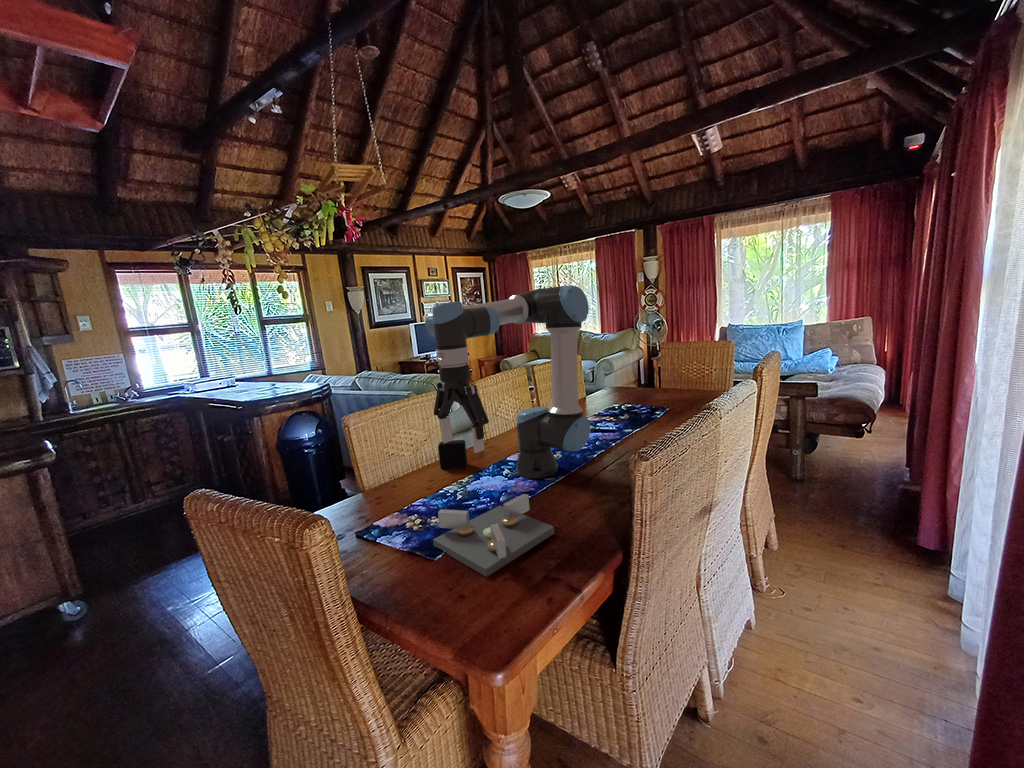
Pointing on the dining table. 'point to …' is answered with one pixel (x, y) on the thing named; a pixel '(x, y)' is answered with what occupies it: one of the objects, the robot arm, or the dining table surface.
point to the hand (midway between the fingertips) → (462, 446)
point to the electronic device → (452, 454)
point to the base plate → (475, 545)
